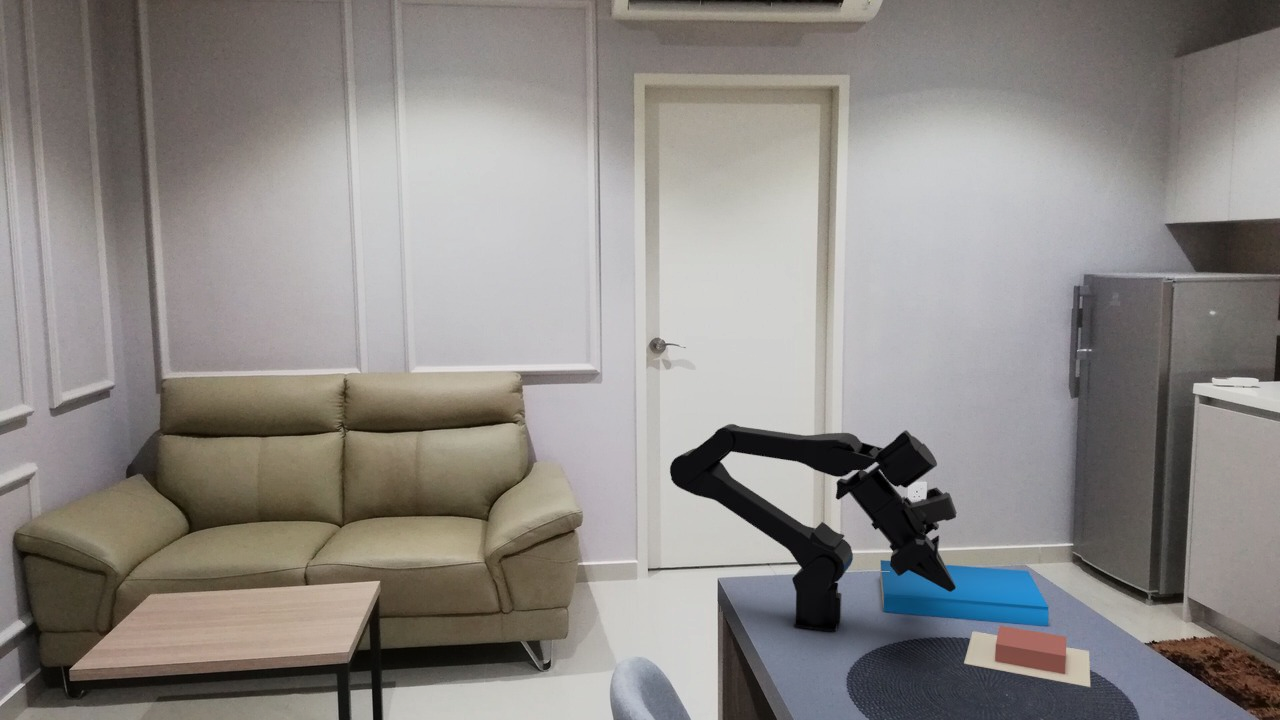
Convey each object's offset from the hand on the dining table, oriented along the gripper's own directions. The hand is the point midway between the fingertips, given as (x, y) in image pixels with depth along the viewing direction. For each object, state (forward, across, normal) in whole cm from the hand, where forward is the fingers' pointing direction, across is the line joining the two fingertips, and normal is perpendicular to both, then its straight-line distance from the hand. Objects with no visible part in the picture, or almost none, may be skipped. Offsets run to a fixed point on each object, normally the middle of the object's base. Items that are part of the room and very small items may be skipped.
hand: (953, 589), depth 132 cm
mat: (+14, 0, -2) cm, 14 cm away
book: (+6, +19, +5) cm, 21 cm away
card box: (+10, 0, 0) cm, 10 cm away
